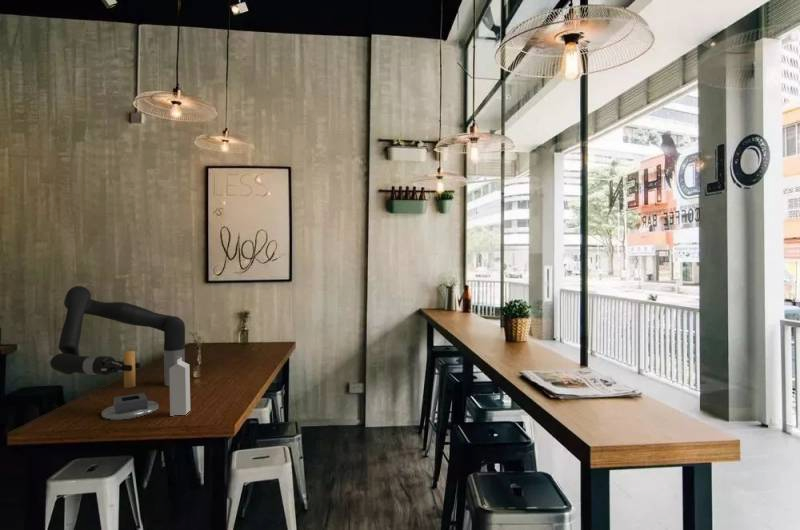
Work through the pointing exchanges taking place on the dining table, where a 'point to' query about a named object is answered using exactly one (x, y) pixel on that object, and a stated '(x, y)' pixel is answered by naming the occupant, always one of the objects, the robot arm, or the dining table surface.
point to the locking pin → (129, 375)
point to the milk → (179, 388)
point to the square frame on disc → (130, 407)
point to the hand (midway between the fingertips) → (135, 366)
